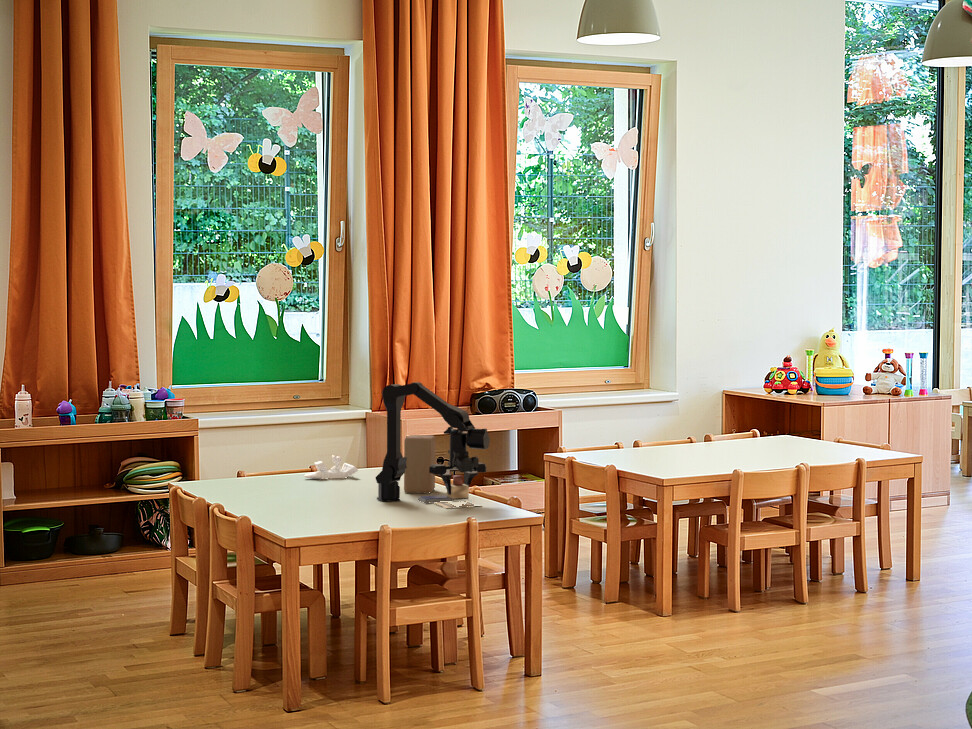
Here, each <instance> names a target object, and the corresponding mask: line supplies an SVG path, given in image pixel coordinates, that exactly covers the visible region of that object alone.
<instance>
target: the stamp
mask: <svg viewBox="0 0 972 729" xmlns="http://www.w3.org/2000/svg"><path fill="white" fill-rule="evenodd" d="M469 489H470V486H468V485H465V484H464V475H460V474H459V475H457V474H455V475H452V483H451V495H449V494H448V491H447V490H446V496H447V498H449V499H452V501H463V500H469V498H470V497H469V495H470V494H469Z"/></svg>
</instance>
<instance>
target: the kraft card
mask: <svg viewBox="0 0 972 729" xmlns="http://www.w3.org/2000/svg"><path fill="white" fill-rule="evenodd" d="M455 501H456V502H457V501H458V502H459V501H460V502H461V501H462V500H455ZM463 501H464V502H466V501H467V500H463ZM472 503H475V502H474V501H472ZM472 503H470V502H467V503H466V504H465V505H464V504H462V506H459V507H467V506H468V507H469V506H474V504H472ZM435 504H437V505H436V506H438V505H440V506H442V507H441V508H443V507H445V508H453V507H456V506H454V505H452V504H450V503H448V502H437V503H435ZM435 504H434V505H435ZM440 506H439V507H440ZM445 508H444V509H445ZM469 508H470V507H469Z"/></svg>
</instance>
